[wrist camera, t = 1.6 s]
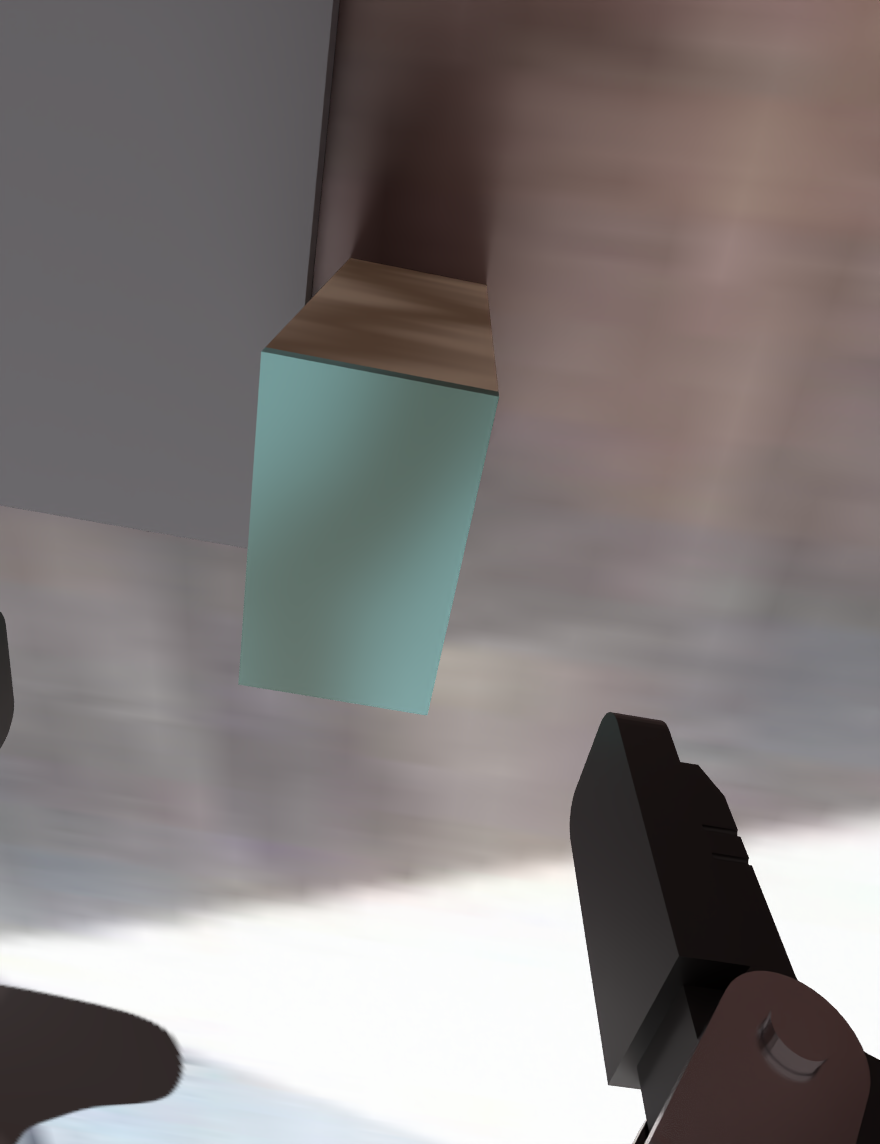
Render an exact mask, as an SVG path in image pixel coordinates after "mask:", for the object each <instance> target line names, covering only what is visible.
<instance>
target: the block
mask: <svg viewBox="0 0 880 1144" xmlns="http://www.w3.org/2000/svg"><path fill="white" fill-rule="evenodd" d="M498 399H499V392H498V383H497V374H496V365H495V357H494V348H493V339H492V330H491V321H490V312H489V303H488V294H487V285H484V284H479V283H474V282H469V281H464V280H459V279H454V278H449V277H444V276H439V275H434V274H429V273H424V272H419V271H414V270H409V269H404V268H399V267H393V266H388V265H383V264H378V263H373V262H368V261H363V260H358V259H353V258H350V259H349V260H348V261H347V262H346V263H345V264H344V265H343V266H342V267H341V268H340V269H339V270H338V271H337V272H336V273H335V275H334V276H333V277H332V278H331V279H330V280H329V281H328V282H327V283H326V284H325V285H324V286H323V287H322V288H321V289H320V290H319V291H318V292H317V293H316V295H315V296H314V297H313V298H312V299H311V300H310V301H309V302H308V303H307V304H306V305H305V306H304V307H303V308H302V309H301V310H300V311H299V312H298V313H297V314H296V316H295V317H294V318H293V319H292V320H291V321H290V322H289V323H288V324H287V325H286V326H285V327H284V328H283V329H282V330H281V331H280V332H279V333H278V334H277V336H276V337H275V338H274V339H273V340H272V341H271V342H270V343H269V344H268V345H267V346H266V347H265V348H264V349H263V350H262V351H261V363H260V378H259V392H258V407H257V421H256V436H255V451H254V465H253V480H252V495H251V509H250V524H249V539H248V553H247V568H246V582H245V597H244V612H243V626H242V641H241V656H240V670H239V685H245V686H251V687H257V688H263V689H270V690H276V691H282V692H288V693H294V694H300V695H306V696H312V697H318V698H324V699H330V700H337V701H343V702H349V703H355V704H361V705H367V706H373V707H379V708H385V709H391V710H397V711H403V712H410V713H416V714H422V715H427V714H428V710H429V705H430V701H431V696H432V692H433V688H434V683H435V679H436V674H437V670H438V665H439V661H440V656H441V652H442V648H443V643H444V639H445V634H446V630H447V625H448V621H449V616H450V612H451V608H452V603H453V599H454V594H455V590H456V585H457V581H458V577H459V572H460V568H461V563H462V559H463V554H464V550H465V545H466V541H467V537H468V532H469V528H470V523H471V519H472V514H473V510H474V506H475V501H476V497H477V492H478V488H479V483H480V479H481V474H482V470H483V466H484V461H485V457H486V452H487V448H488V443H489V439H490V435H491V430H492V426H493V421H494V417H495V412H496V408H497V403H498Z"/></svg>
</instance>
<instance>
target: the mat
mask: <svg viewBox="0 0 880 1144" xmlns="http://www.w3.org/2000/svg"><path fill="white" fill-rule="evenodd" d="M339 3H340V0H0V505H1V506H7V507H12V508H18V509H24V510H30V511H35V512H41V513H47V514H53V515H58V516H64V517H70V518H75V519H81V520H87V521H93V522H98V523H104V524H110V525H116V526H121V527H127V528H133V529H138V530H144V531H150V532H156V533H161V534H167V535H173V536H178V537H184V538H190V539H196V540H201V541H207V542H213V543H219V544H224V545H230V546H236V547H241V548H247V549H248V539H249V524H250V509H251V495H252V480H253V465H254V451H255V436H256V421H257V407H258V392H259V378H260V363H261V351H262V350H263V349H264V348H265V347H266V346H267V345H268V344H269V343H270V342H271V341H272V340H273V339H274V338H275V337H276V336H277V334H278V333H279V332H280V331H281V330H282V329H283V328H284V327H285V326H286V325H287V324H288V323H289V322H290V321H291V320H292V319H293V318H294V317H295V316H296V314H297V313H298V312H299V311H300V310H301V309H302V308H303V307H304V306H305V305H306V304H307V303H308V302H309V301H310V300H311V293H312V283H313V272H314V262H315V252H316V241H317V231H318V221H319V210H320V200H321V190H322V179H323V169H324V158H325V148H326V138H327V127H328V117H329V107H330V96H331V86H332V76H333V65H334V55H335V44H336V34H337V24H338V13H339Z"/></svg>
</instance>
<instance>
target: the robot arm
mask: <svg viewBox="0 0 880 1144" xmlns="http://www.w3.org/2000/svg"><path fill="white" fill-rule="evenodd" d="M13 711H14V696H13V687H12V678H11V669H10V659H9V650H8V641H7V631H6V624H5V619H4V617H3V615H2V613H1V612H0V748H1V747H2V745H3V743H4V741H5V739H6V737H7V734H8V732H9V729H10V726H11V722H12V718H13ZM737 831H738V829H737V827H736V824H735V822H734V819H733V817H732V814H731V812H730V809H729V807H728V804H727V801H726V799H725V796H724V795H723V794H722V793H721V792H720V790H719V789H718V788H717V787H716V786H715V784H714V783H713V782H712V781H711V780H710V778H709V777H708V776H707V775H706V774H705V773H704V771H703V770H702V769H701V768H700V767H699V765H695V764H689V763H683V762H680V760H679V757H678V754H677V751H676V749H675V746H674V743H673V740H672V737H671V734H670V731H669V729H668V726H667V725H666V723H665V722H663V721H661V720H655V719H649V718H643V717H637V716H631V715H625V714H619V713H612V712H609V713H607V714H606V715H605V716H604V718H603V719H602V721H601V724H600V726H599V729H598V731H597V734H596V737H595V739H594V742H593V745H592V747H591V750H590V753H589V755H588V758H587V761H586V763H585V766H584V769H583V771H582V774H581V776H580V779H579V782H578V784H577V787H576V790H575V793H574V797H573V801H572V806H571V814H570V839H571V846H572V853H573V859H574V866H575V872H576V879H577V885H578V892H579V898H580V905H581V911H582V918H583V924H584V931H585V937H586V944H587V950H588V957H589V963H590V970H591V976H592V983H593V990H594V996H595V1003H596V1009H597V1016H598V1022H599V1029H600V1035H601V1042H602V1048H603V1055H604V1061H605V1068H606V1074H607V1081H608V1085H612V1086H619V1087H627V1088H635V1089H641V1092H642V1097H643V1103H644V1108H645V1114H646V1120H645V1122H644V1123H643V1125H642V1127H641V1128H640V1130H639V1132H638V1134H637V1136H636V1138H635V1139H634V1141H633V1143H632V1144H880V1060H879V1059H877V1058H875V1057H873V1056H871V1055H869V1054H867V1053H866V1052H864V1051H863V1048H862V1046H861V1044H860V1042H859V1040H858V1038H857V1037H856V1035H855V1033H854V1032H853V1030H852V1029H851V1027H850V1026H849V1024H848V1023H847V1022H846V1020H845V1019H844V1018H843V1017H842V1016H841V1014H840V1013H839V1012H838V1011H837V1010H836V1009H835V1008H834V1007H833V1006H832V1005H831V1004H830V1003H829V1002H828V1001H827V1000H826V999H824V998H823V997H822V996H821V995H819V994H818V993H817V992H815V991H814V990H813V989H811V988H809V987H808V986H806V985H805V984H803V983H801V982H799V981H798V980H797V978H796V976H795V974H794V971H793V969H792V966H791V964H790V961H789V958H788V956H787V953H786V951H785V948H784V946H783V943H782V941H781V938H780V936H779V933H778V931H777V928H776V926H775V923H774V920H773V918H772V915H771V913H770V910H769V908H768V905H767V903H766V900H765V898H764V895H763V893H762V890H761V888H760V885H759V882H758V880H757V877H756V875H755V872H754V870H753V867H752V866H751V865H749V864H748V859H749V857H748V855H747V852H746V850H745V847H744V844H743V842H742V839H741V837H739V836H737Z"/></svg>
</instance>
